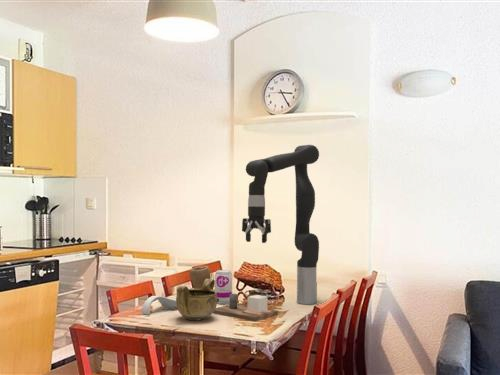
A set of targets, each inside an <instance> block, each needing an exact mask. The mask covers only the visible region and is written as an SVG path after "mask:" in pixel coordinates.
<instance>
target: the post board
mask: <svg viewBox="0 0 500 375" xmlns="http://www.w3.org/2000/svg"><path fill="white" fill-rule="evenodd" d="M212 314H214V315H215V314H216V315H220V316H224V317H231V318H236V319H241V320H247V321H251V322H257V321H261V320H265V319H267V318H268V319H269V318H270V317H271V318H272V317H275V316H277V315H279V311H278V310H274V309H268V308H267V311H265V312H262V313H254V312H249V311H247V305H244V304H238V294H237V293H232V294H230V304H226V305H223V306H219V307H216V309H215V311H214V312H213V313H212Z"/></svg>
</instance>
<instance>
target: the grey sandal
mask: <svg viewBox="0 0 500 375" xmlns="http://www.w3.org/2000/svg"><path fill="white" fill-rule="evenodd" d="M155 300H157V301H158V302H159V303H160V305H161V306H162V307H163V308H164V309H165V310H178V309H177V305H176V298H175V297H173V298H172V297H165V296H161V295H159V296H157V295H152V296H150V297H147V299H146V300H145V301H144V303H143V305H142V308H141V312H140V314H142V315H145V316H150V315H151V306H152V303H153V302H154V301H155Z"/></svg>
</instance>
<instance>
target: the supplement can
mask: <svg viewBox="0 0 500 375" xmlns="http://www.w3.org/2000/svg"><path fill="white" fill-rule="evenodd" d="M214 281H215V284H214V290H215V291H216V292H217V305H229V304H230V294H233V273H232V271H231V270H230V269H218V270H216V271H215V273H214Z"/></svg>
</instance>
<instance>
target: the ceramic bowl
mask: <svg viewBox="0 0 500 375" xmlns="http://www.w3.org/2000/svg"><path fill="white" fill-rule="evenodd" d="M214 289H215V278H214V279H213V278H210V279H206V280H205V281H204V284H203V287H202V288H201V289H194V288H188V286H186V285H178V286H177V288H176V296H175V297H176V305H177V309H176V310H177V311H178V313H179V314H180V315H181V316H182V317H183V318H185V319H187V320H190V321H202V320H204V319H207V318H209V317H210V316H211V315H213V314H214V313H213V312H214V311H215V309H216V308H217V305H218V304H217V292H216V291H213V290H214Z"/></svg>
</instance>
